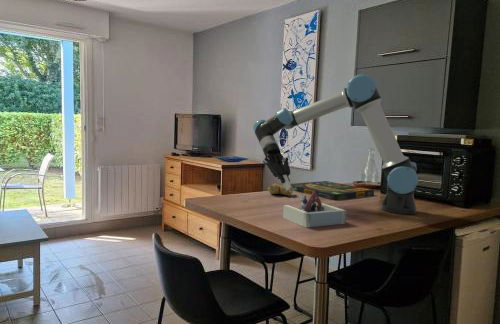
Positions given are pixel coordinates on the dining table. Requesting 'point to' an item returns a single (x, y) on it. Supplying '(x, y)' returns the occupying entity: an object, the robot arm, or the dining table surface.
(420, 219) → the dining table surface
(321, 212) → the cradle
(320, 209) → the brake caliper
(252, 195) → the dining table surface
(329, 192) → the pizza box
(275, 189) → the ginger root
